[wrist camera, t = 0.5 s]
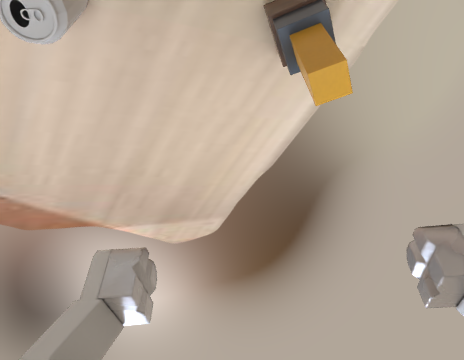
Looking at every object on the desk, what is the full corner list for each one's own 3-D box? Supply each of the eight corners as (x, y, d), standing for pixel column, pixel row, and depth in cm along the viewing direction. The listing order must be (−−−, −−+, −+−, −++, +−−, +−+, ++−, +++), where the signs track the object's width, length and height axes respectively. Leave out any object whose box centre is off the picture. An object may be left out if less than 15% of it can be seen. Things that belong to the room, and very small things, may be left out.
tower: (263, 5, 50) (271, 27, 44) (315, -17, 49) (332, 2, 42) (278, 53, 55) (288, 79, 48) (326, 34, 54) (343, 59, 47)
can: (22, -47, 45) (-25, -24, 36) (82, -45, 45) (51, -23, 36) (41, 16, 50) (4, 49, 41) (95, 17, 50) (71, 50, 41)
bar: (289, 35, 44) (307, 74, 36) (320, 22, 44) (346, 59, 35) (297, 63, 47) (315, 106, 39) (327, 52, 46) (352, 93, 38)
